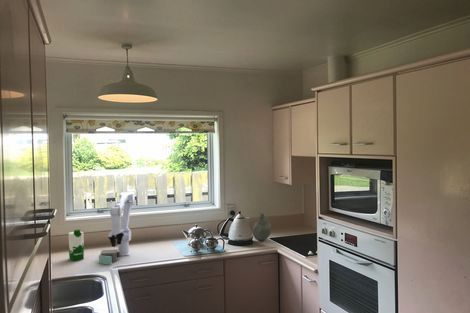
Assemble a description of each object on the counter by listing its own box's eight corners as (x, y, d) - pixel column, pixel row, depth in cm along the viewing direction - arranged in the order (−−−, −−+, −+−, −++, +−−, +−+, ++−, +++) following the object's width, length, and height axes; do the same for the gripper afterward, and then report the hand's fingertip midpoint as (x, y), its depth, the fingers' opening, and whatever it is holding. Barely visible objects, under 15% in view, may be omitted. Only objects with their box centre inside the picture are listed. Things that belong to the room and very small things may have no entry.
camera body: (102, 258, 254) (102, 250, 254) (120, 257, 256) (120, 249, 256) (100, 262, 246) (100, 253, 246) (118, 261, 248) (118, 252, 248)
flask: (249, 239, 304) (249, 212, 303) (269, 238, 309) (269, 211, 308) (254, 243, 293) (254, 215, 292) (274, 241, 297) (274, 214, 297)
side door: (99, 262, 246) (99, 254, 245) (111, 264, 243) (111, 256, 242) (98, 263, 245) (98, 255, 244) (110, 264, 242) (110, 256, 241)
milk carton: (72, 262, 247) (71, 231, 247) (67, 258, 254) (66, 229, 253) (85, 259, 253) (85, 229, 252) (80, 256, 260) (80, 227, 259)
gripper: (117, 222, 257) (117, 242, 257) (104, 226, 243) (104, 247, 244) (126, 223, 255) (126, 243, 255) (113, 227, 241) (113, 248, 241)
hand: (116, 245), depth 249 cm, fingers open, 5 cm apart
